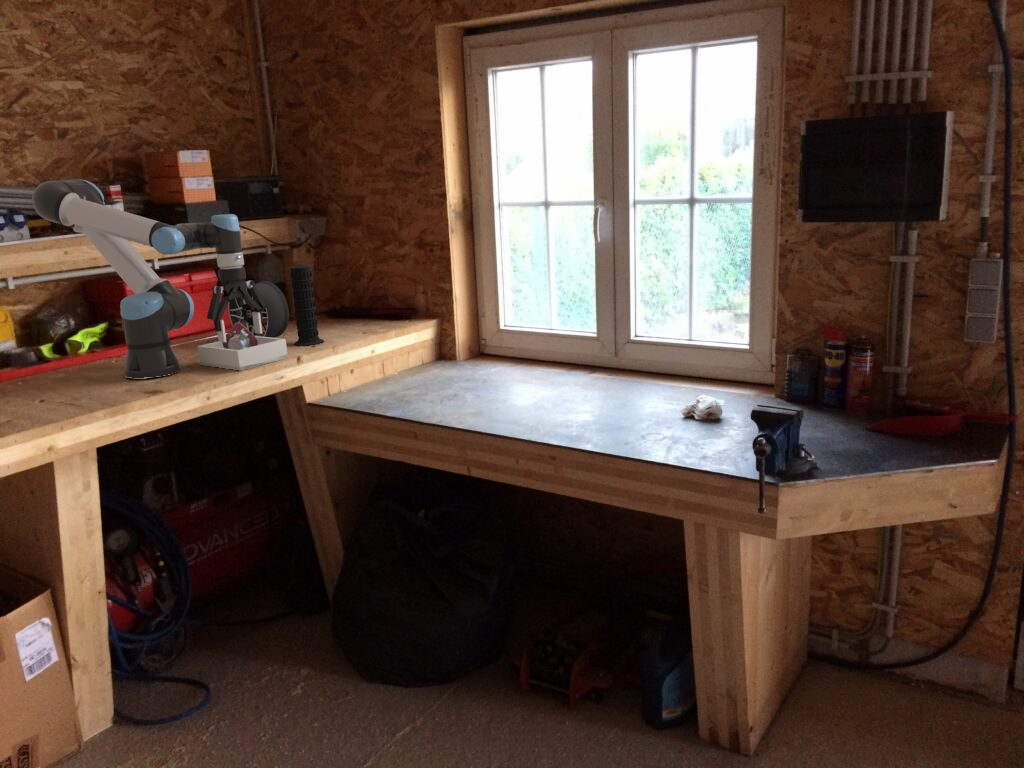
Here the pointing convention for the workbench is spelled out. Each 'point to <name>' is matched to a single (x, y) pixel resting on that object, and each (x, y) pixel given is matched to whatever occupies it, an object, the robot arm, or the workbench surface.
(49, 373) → the workbench surface
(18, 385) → the workbench surface
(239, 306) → the wheel rim
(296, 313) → the handle grip
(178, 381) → the workbench surface
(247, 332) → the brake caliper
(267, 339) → the bin
